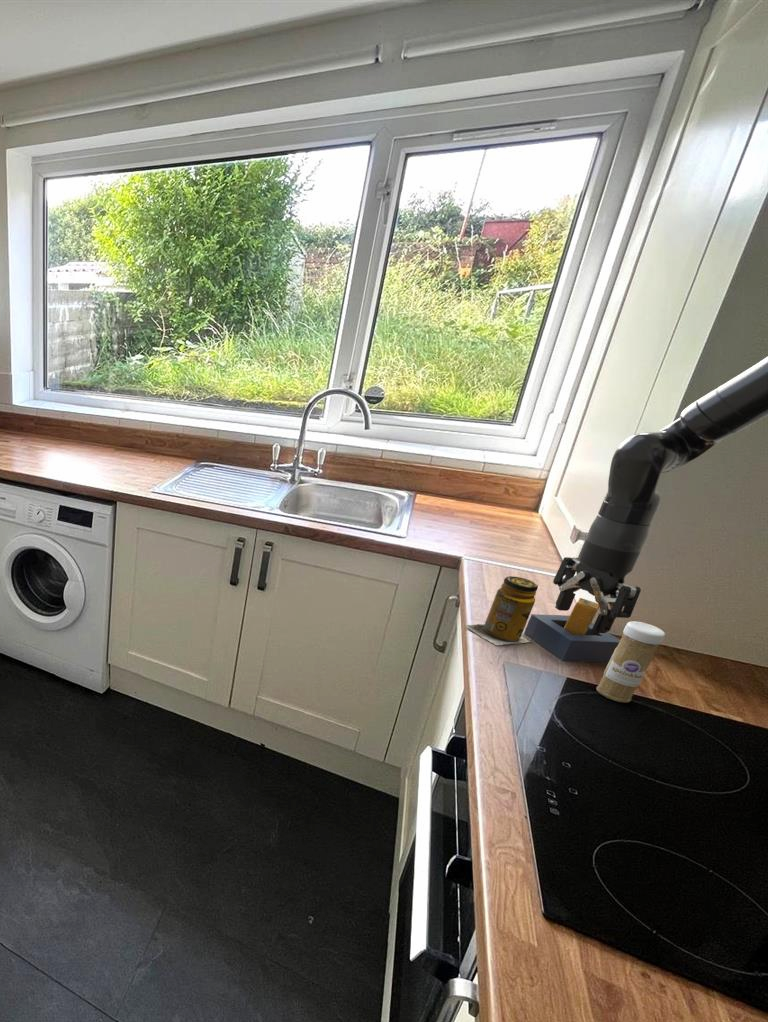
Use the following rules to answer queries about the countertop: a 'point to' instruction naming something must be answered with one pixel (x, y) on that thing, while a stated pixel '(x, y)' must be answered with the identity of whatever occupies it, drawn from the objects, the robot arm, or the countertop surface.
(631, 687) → the sprinkles bottle
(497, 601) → the condiment
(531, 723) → the countertop surface
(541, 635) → the socket block
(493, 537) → the countertop surface
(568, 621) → the supplement box
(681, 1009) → the countertop surface
